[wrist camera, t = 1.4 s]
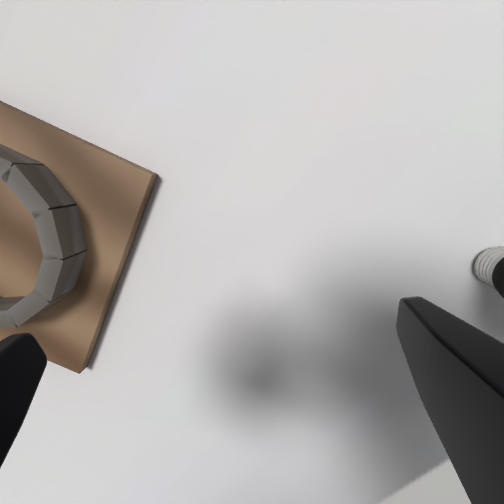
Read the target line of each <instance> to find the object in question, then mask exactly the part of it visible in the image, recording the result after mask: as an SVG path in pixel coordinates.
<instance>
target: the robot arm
mask: <svg viewBox="0 0 504 504" xmlns="http://www.w3.org/2000/svg"><path fill="white" fill-rule="evenodd" d="M396 327H397V334H398V337H399V340H400V343H401V345H402V348H403V351H404V354H405V356H406V359H407V362H408V365H409V368H410V370H411V373H412V376H413V379H414V382H415V384H416V387H417V390H418V392H419V395H420V398H421V400H422V402H423V404H424V407H425V409H426V411H427V413H428V415H429V417H430V419H431V421H432V423H433V425H434V427H435V429H436V431H437V433H438V435H439V438H440V440H441V442H442V444H443V446H444V448H445V450H446V452H447V454H448V456H449V458H450V460H451V462H452V464H453V466H454V468H455V470H456V472H457V474H458V477H459V479H460V481H461V483H462V485H463V487H464V489H465V491H466V493H467V495H468V497H469V499H470V501H471V503H472V504H504V343H502V342H500V341H498V340H496V339H495V338H493V337H491V336H489V335H488V334H486V333H484V332H482V331H481V330H479V329H477V328H475V327H473V326H472V325H470V324H468V323H466V322H465V321H463V320H461V319H459V318H458V317H456V316H454V315H452V314H450V313H449V312H447V311H445V310H443V309H442V308H440V307H438V306H436V305H435V304H433V303H431V302H429V301H428V300H426V299H424V298H422V297H406V298H402V299H401V300H400V302H399V308H398V316H397V325H396ZM46 365H47V355H46V353H45V352H44V350H43V349H42V347H41V346H40V344H39V343H38V341H37V340H36V338H35V337H34V335H32V334H31V333H18V334H13V335H10V336H8V337H6V338H5V339H3V340H1V341H0V468H1V466H2V464H3V462H4V460H5V458H6V456H7V454H8V452H9V450H10V448H11V446H12V444H13V442H14V440H15V438H16V436H17V434H18V432H19V430H20V428H21V426H22V424H23V421H24V419H25V417H26V414H27V412H28V409H29V407H30V404H31V402H32V400H33V397H34V395H35V392H36V390H37V387H38V385H39V382H40V380H41V377H42V375H43V372H44V370H45V367H46Z"/></svg>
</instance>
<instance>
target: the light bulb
mask: <svg viewBox="0 0 504 504" xmlns="http://www.w3.org/2000/svg"><path fill="white" fill-rule="evenodd" d="M475 273H476V275H477V277H478V278H479V279H480V280H482V281H483V282H484V283H487V284H488V285H491V286H492V287H494V288H495V289H496V290H497V291H498V292H499V294H500V295H501V296H502V297H503V298H504V247H501V246H498V247H493V248H489V249H487V250H485V251H483V252H482V253H481V254H480V255H479V256H478V258H477V260H476V262H475Z"/></svg>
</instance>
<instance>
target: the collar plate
mask: <svg viewBox="0 0 504 504" xmlns="http://www.w3.org/2000/svg"><path fill="white" fill-rule="evenodd" d="M156 177H157V174H156V173H153V172H151V171H149V170H147V169H145V168H143V167H141V166H138V165H136V164H134V163H132V162H130V161H128V160H126V159H124V158H121V157H119V156H117V155H115V154H113V153H111V152H109V151H106V150H104V149H102V148H100V147H98V146H96V145H94V144H91V143H89V142H87V141H85V140H83V139H81V138H79V137H76V136H74V135H72V134H70V133H68V132H66V131H64V130H61V129H59V128H57V127H55V126H53V125H51V124H49V123H47V122H44V121H42V120H40V119H38V118H36V117H34V116H32V115H29V114H27V113H25V112H23V111H21V110H19V109H17V108H14V107H12V106H10V105H8V104H6V103H4V102H2V101H0V340H3V339H5V338H6V337H8V336H10V335H13V334H18V333H31V334H32V335H34V337H35V338H36V340H37V341H38V343H39V344H40V346H41V347H42V349H43V350H44V352H45V353H46V355H47V360H48V361H51V362H53V363H56V364H58V365H60V366H63V367H65V368H67V369H70V370H72V371H74V372H77V373H79V374H80V373H81V372H82V371H83V370H84V369H85V368H86V367H87V365H88V363H89V360H90V357H91V354H92V352H93V349H94V346H95V343H96V341H97V338H98V335H99V333H100V330H101V327H102V324H103V322H104V319H105V316H106V313H107V311H108V308H109V305H110V303H111V300H112V297H113V294H114V292H115V289H116V286H117V283H118V281H119V278H120V275H121V273H122V270H123V267H124V264H125V262H126V259H127V256H128V253H129V251H130V248H131V245H132V242H133V240H134V237H135V234H136V232H137V229H138V226H139V223H140V221H141V218H142V215H143V212H144V210H145V207H146V204H147V202H148V199H149V196H150V193H151V191H152V188H153V185H154V182H155V180H156Z"/></svg>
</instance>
